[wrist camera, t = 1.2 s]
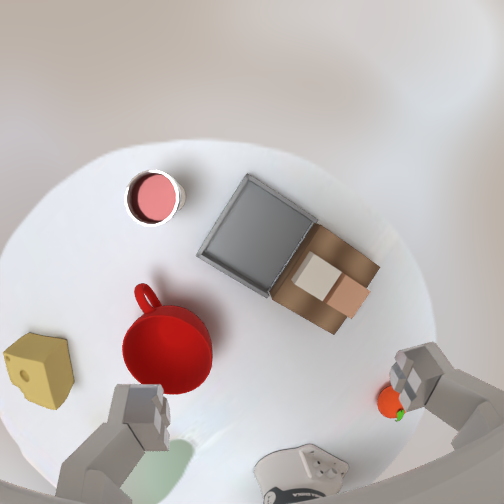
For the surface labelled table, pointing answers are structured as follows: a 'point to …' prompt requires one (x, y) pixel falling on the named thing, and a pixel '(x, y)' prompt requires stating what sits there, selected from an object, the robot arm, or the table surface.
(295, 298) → the walnut block
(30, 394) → the cheese
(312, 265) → the tile
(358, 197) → the table surface
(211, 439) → the table surface
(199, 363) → the ceramic cup
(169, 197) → the wineglass
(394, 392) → the clementine
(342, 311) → the tile
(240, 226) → the tray
